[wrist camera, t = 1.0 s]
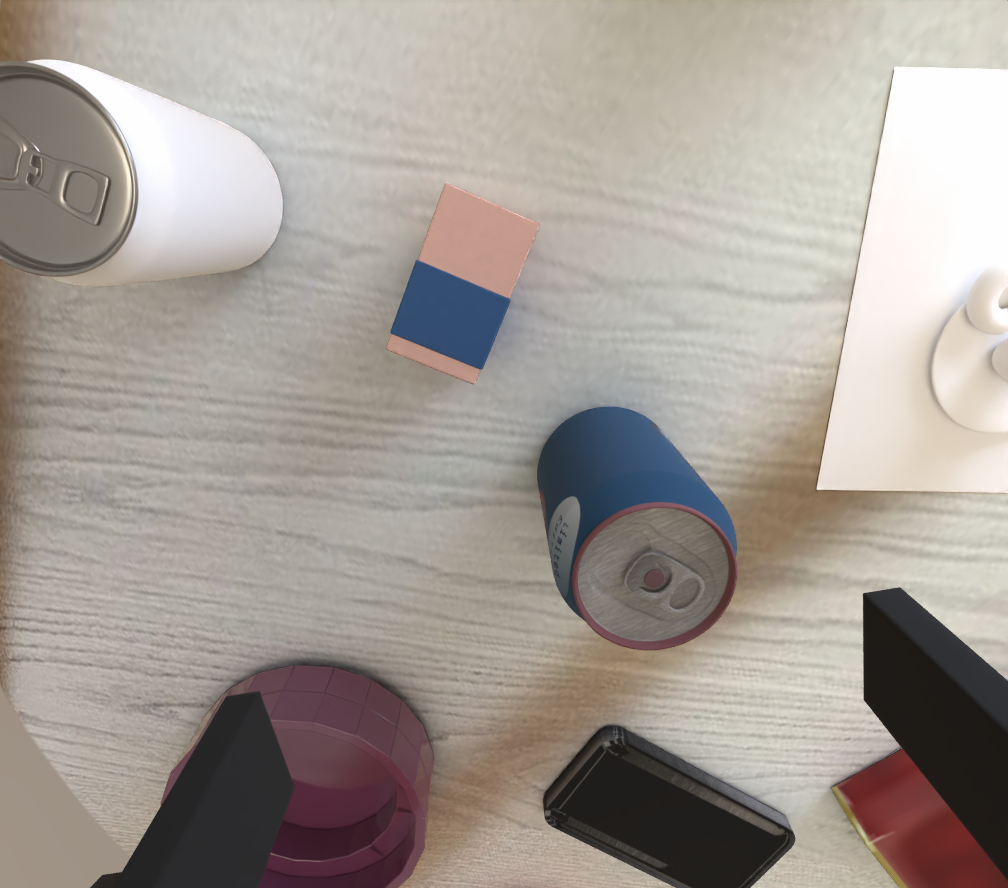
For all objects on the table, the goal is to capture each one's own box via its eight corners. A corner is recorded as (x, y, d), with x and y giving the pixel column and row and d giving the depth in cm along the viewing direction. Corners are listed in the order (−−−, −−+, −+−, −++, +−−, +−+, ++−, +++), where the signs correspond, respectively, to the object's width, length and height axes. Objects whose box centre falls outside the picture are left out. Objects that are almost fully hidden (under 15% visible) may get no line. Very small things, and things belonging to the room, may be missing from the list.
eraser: (401, 332, 31) (384, 349, 26) (452, 190, 29) (443, 181, 24) (479, 363, 32) (475, 386, 27) (534, 227, 30) (541, 224, 25)
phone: (610, 733, 37) (803, 836, 40) (607, 719, 38) (795, 821, 41) (536, 820, 39) (724, 913, 42) (535, 805, 40) (718, 896, 43)
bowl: (178, 804, 40) (135, 880, 35) (237, 626, 36) (198, 685, 31) (389, 866, 42) (376, 946, 37) (468, 703, 38) (463, 769, 33)
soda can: (511, 486, 34) (518, 613, 22) (581, 375, 32) (627, 452, 20) (620, 544, 35) (679, 694, 23) (693, 440, 33) (796, 548, 22)
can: (166, 93, 28) (-64, -7, 16) (306, 162, 29) (179, 113, 17) (127, 234, 30) (-105, 231, 18) (260, 294, 30) (118, 328, 19)
